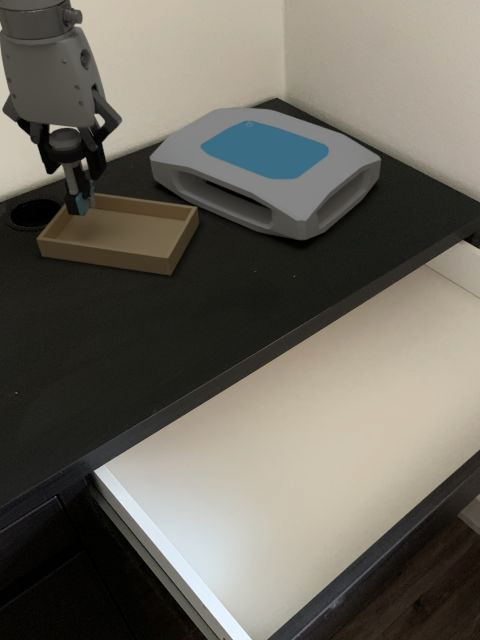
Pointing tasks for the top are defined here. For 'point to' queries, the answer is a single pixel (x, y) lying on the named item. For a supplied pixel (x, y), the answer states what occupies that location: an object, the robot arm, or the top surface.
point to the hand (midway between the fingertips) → (76, 170)
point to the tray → (122, 234)
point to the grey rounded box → (267, 170)
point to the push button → (72, 168)
